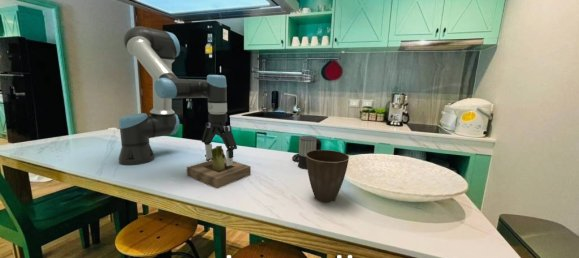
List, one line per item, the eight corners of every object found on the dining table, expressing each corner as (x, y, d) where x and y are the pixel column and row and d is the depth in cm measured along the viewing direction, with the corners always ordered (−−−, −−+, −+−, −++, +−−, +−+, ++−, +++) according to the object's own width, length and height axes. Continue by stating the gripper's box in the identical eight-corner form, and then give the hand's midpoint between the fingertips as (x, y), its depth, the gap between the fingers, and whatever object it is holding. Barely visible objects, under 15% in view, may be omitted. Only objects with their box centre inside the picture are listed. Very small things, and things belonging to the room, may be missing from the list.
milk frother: (311, 170, 110) (312, 140, 107) (282, 164, 117) (283, 136, 115) (322, 162, 122) (324, 135, 119) (296, 157, 130) (297, 131, 127)
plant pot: (295, 198, 82) (297, 155, 79) (318, 185, 94) (320, 147, 91) (332, 213, 73) (335, 165, 70) (352, 197, 84) (356, 155, 81)
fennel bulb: (214, 176, 97) (211, 149, 95) (210, 173, 101) (207, 146, 99) (227, 172, 101) (225, 146, 98) (223, 169, 104) (221, 144, 102)
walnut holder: (187, 175, 99) (186, 167, 99) (221, 165, 114) (221, 157, 113) (217, 188, 88) (216, 178, 87) (250, 174, 103) (250, 166, 102)
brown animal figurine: (225, 165, 115) (215, 152, 111) (209, 172, 117) (200, 159, 113) (231, 153, 125) (223, 141, 122) (217, 159, 127) (208, 147, 124)
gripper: (192, 111, 100) (194, 158, 104) (230, 116, 86) (231, 170, 90) (206, 109, 106) (208, 154, 110) (245, 115, 92) (245, 165, 96)
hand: (219, 161), depth 100 cm, fingers open, 13 cm apart
